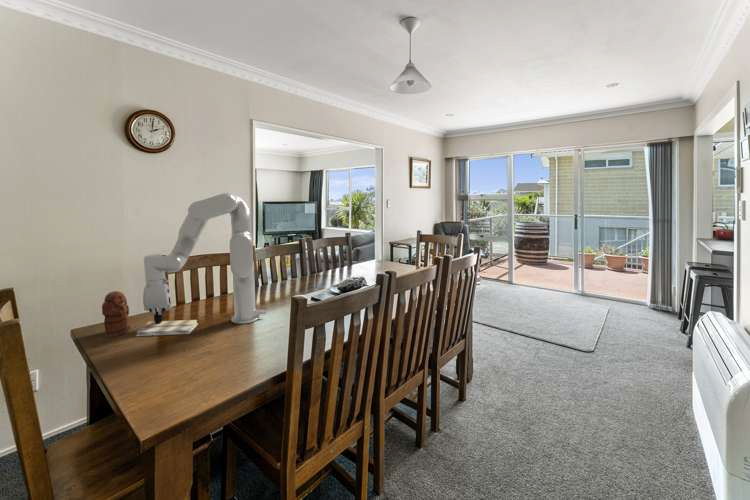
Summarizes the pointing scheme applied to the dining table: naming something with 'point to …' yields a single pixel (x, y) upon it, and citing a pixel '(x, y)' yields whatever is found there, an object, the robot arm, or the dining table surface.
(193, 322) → the plank
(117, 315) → the wooden figurine
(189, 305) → the dining table surface
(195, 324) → the underlay
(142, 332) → the laid board
